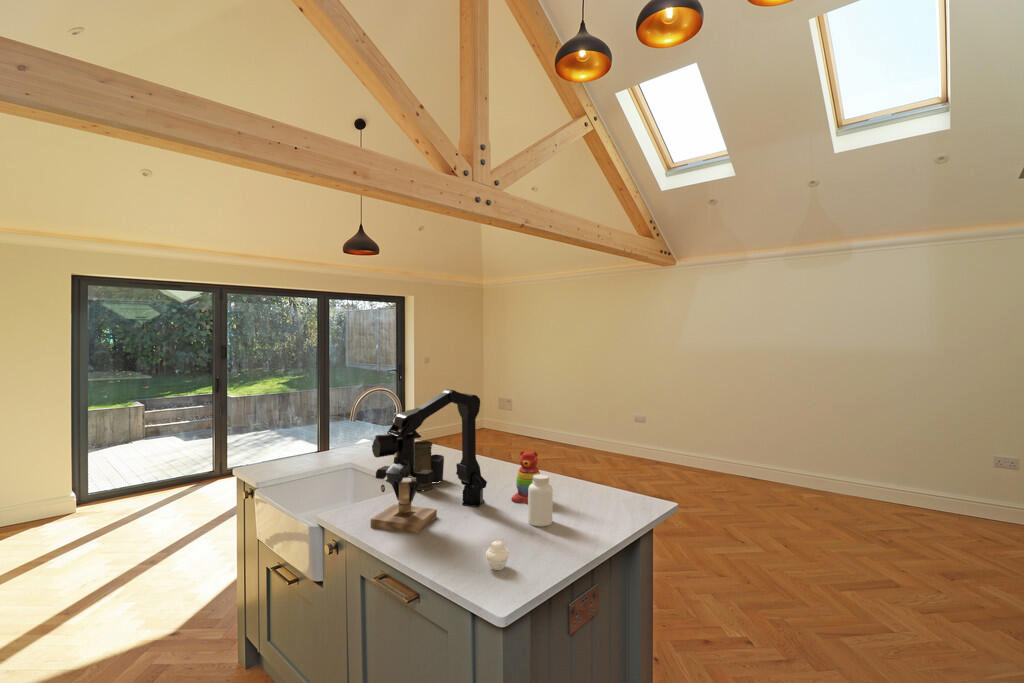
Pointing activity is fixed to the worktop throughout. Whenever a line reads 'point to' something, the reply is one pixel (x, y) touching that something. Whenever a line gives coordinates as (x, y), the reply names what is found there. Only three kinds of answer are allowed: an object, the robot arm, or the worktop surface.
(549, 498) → the pill bottle
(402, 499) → the peg
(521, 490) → the stacking bear
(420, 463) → the container
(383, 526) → the board
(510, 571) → the worktop surface
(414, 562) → the worktop surface
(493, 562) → the cream rounded piece
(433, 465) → the pen holder
